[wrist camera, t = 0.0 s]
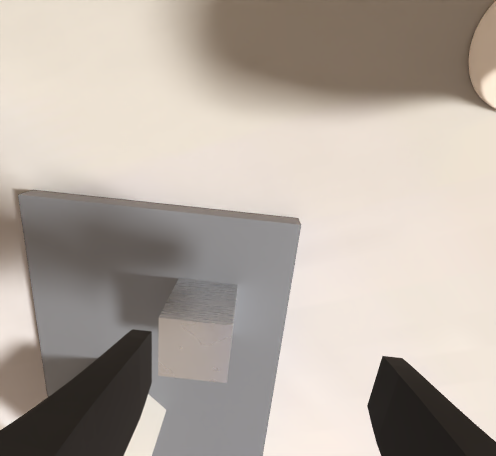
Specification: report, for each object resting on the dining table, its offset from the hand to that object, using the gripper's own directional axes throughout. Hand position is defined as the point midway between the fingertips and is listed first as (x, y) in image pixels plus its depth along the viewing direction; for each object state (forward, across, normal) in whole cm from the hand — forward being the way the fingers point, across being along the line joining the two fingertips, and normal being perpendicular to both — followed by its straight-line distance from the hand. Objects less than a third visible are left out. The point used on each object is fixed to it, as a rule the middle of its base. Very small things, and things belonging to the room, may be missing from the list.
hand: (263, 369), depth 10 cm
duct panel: (+10, +6, +8) cm, 14 cm away
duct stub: (+10, +3, +4) cm, 11 cm away
